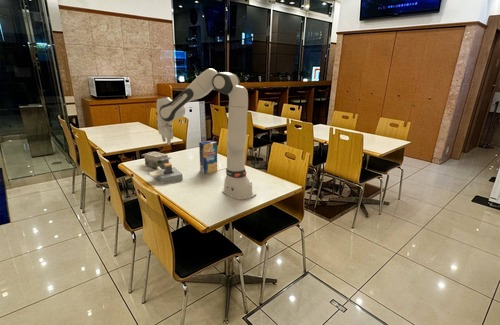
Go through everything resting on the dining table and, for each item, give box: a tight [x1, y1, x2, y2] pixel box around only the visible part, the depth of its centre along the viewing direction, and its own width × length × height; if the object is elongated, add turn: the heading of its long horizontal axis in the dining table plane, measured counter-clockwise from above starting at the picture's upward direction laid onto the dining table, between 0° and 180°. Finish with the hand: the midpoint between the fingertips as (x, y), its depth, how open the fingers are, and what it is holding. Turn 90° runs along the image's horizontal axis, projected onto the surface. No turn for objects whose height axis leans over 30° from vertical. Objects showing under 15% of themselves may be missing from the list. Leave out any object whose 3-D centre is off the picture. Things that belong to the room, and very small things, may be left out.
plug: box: [164, 162, 173, 175], centre depth 191 cm, size 4×4×9 cm
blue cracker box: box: [198, 140, 218, 175], centre depth 205 cm, size 7×11×22 cm, turn 127°
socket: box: [154, 166, 184, 184], centre depth 192 cm, size 16×14×4 cm
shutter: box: [148, 167, 163, 177], centre depth 186 cm, size 7×7×4 cm
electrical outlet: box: [141, 151, 172, 169], centre depth 213 cm, size 12×28×10 cm, turn 50°
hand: (166, 143), depth 185 cm, fingers open, 8 cm apart
